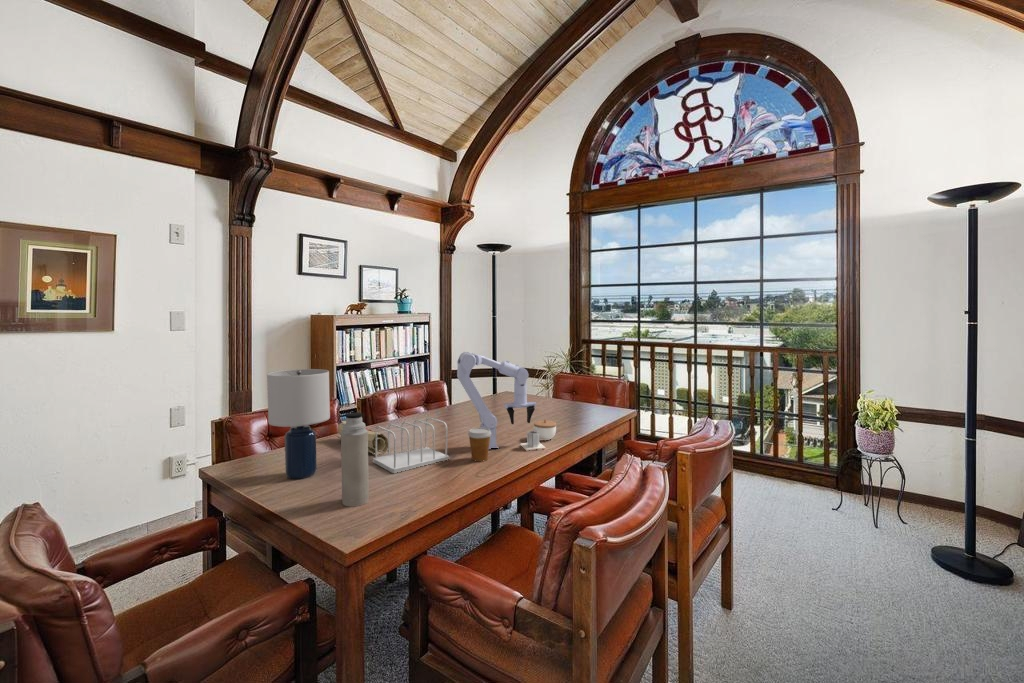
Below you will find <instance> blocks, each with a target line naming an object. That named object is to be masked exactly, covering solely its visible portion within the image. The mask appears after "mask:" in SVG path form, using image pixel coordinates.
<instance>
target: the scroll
mask: <svg viewBox="0 0 1024 683" xmlns="http://www.w3.org/2000/svg"><path fill="white" fill-rule="evenodd" d="M345 423H346V420H342V421H340V423H339V424H338V425H337V432H338V435H337V434H335V436H336V437H337V438H338V439H339V440H341V432H342V431H343V425H344V424H345ZM365 429H366V430H368V453H369V454H371V453H372V454H371V455H373V456H375V454H374V453H375V435H376V431H374V430H372V429H370V428H368V427H365ZM339 435H340V436H339ZM377 452H382V453H383V452H384V453H386V452H388V436H386V435H385V434H384V433H381V432H377Z"/></svg>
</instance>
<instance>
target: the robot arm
mask: <svg viewBox="0 0 1024 683" xmlns="http://www.w3.org/2000/svg"><path fill="white" fill-rule="evenodd" d="M456 363H457V370H456V371H457V372H456V376H457V379H458V381H459V382H460V385H461V386H462V388H463V389H464V391H465V392H466V395H467V396H468V398H469V400H470V401H471V403H472V405H473V406H474V408H475V411H476V412H477V414H478V416H479V418H478V419H479V422H480V423H481V424H480V426H479V428H487V429H490V432H491V436H490V442H489V450H492V449H491V448H496V447H497V448H498V449H499V448H500V447H499V445H497V425H498V418H497V417H496V416H495V415H494V414H493V413H492V412H491V410H490V409H489V408H488V406H487V405H486V403H485V401H484V399H483V398H482V395H480V392H479V391H478V389H477V387H476V386H475V384H474V382H473V380H472V379H471V377H470V375H471V371H472V370H473V368H474V367H475V365H476V366H481V365H484V366H488V367H490V368H494V369H496V370H498V372H499V374H502V375H505V376H507V377H510V378H514V384H513V397H514V398H513V399H514V400H513V401H514V402H509V403H507V402H506V403H504V409H506V411H507V413H508V416H509V419H510V424H511V425H514V423H515V418H514V417H515V416H514V415H515V410H514V409H517V408H526V415H527V416H526V422H527V424H531V419H532V416H533V414H534V411H535V410H536V409H535V408H537V402H535V401H528V393H527V392H528V391H527V390H528V389H527V388H528V378H529V376H530V374H529V372H528V370H527V369H526V368H524V367H523V366H522V367H521V366H520V365H519V364H516V365H515V364H514V363H511V362H510V361H509V360H503V361H501V362H500V361H497V360H494V359H491V358H489V357H487V356H484V355H481V354H477V353H473V352H472V353H470V352H469V351H463V352H462V353H460V355H459V356H458V359H457V362H456Z"/></svg>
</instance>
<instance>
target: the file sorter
mask: <svg viewBox="0 0 1024 683" xmlns="http://www.w3.org/2000/svg"><path fill="white" fill-rule="evenodd" d="M428 420H433V421H436V422H439V423H442V424H444V427H445V447H444V448H445V450H444V451H445V453H443V452H440V451H439V450H436V445H435V444H436V442H435V441H436V436H435V435H436V434H435V432H436V431H435V427H434V425H433V424H432V423H430V422H428ZM416 422H418V423H421V424H425V426H424V428H425V432H424V436H425V437H424V442H425V443H424V444H425V445H424V446H423V431H422V430H423V429H422V427H421V426H420V425H417V424H416ZM404 424H405V425H408V426H409V425H410V426H412V427H413V428H412V430H413V432H412V433H413V434H412V435H413V437H412V438H413V439H412V440H413V443H412V444H413V445H412V446H413V449H410V432H409V430H408V428H406V427H404ZM392 426H393V427H395V428H397V429H398V428H399V429H400V431H401V432H400V443H401V444H400V447H401V448H400V449H401V450H400V452H397V438H396V434H395V432H394V431H392V430H391V429H390V428H391V427H392ZM428 426H430V427H431V428H432V439H433V440H432V441H433V442H432V444H433V445H432V447H433V448H431V447H429V446H427V445H428V444H427V442H428ZM416 428H418V429H419V432H420V447H419V448H416ZM379 429H381V430H383V431H386V432H387V438H388V449H387V452H388V453H387V455H380V456H377V433H378V430H379ZM403 430H405V432H406V433H407V450H405V451H404V450H403V449H404V442H403V441H404V440H403V438H404V437H403V436H404V435H403V432H404V431H403ZM375 432H376V435H375V455H374V456H375V457H373V458H372V463H374V464H376V465H377V466H379V467H381V468H382V469H385V470H386V471H388V472H390V473H392V474H393V473H394V474H398V473H401V471H402V472H405V470H406V471H409V469H411V470H413V469H412V468H415V469H417V468H416V467H419V468H421V467H420V466H423V467H425V466H424V465H427V466H429V465H428V464H431V463H435V462H439V461H443V460H447V459H449V460H450V455H448V425H447V423H446V422H445V421H443V420H440V419H437V418H433V417H429V416H428V417H426V419H425V421H423V420H420V419H415V420H414V421H413V423H411V422H407V421H402V422H401V425H397V424H393V423H390V424H388V426H387V428H385V427H382V426H380V425H378V426H377V427H376V428H375ZM390 434H392V436H393V453H391V443H390V442H391V441H390V440H391V438H390V437H391V436H390ZM447 461H448V460H447ZM443 462H444V461H443ZM439 463H440V462H439ZM435 464H436V463H435ZM431 465H432V464H431ZM397 472H398V473H397Z"/></svg>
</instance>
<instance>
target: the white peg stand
mask: <svg viewBox="0 0 1024 683" xmlns="http://www.w3.org/2000/svg"><path fill="white" fill-rule="evenodd" d="M520 445H521V446H522V447H524V448H525V449H526V450H531V449H542V448H547V447H546V446H545V445H543V444H542V443H541V442H540V441H539V447H528V446H527V442H523V443H522V442H521V443H520ZM521 446H520V447H521ZM522 447H521V448H522Z"/></svg>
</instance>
